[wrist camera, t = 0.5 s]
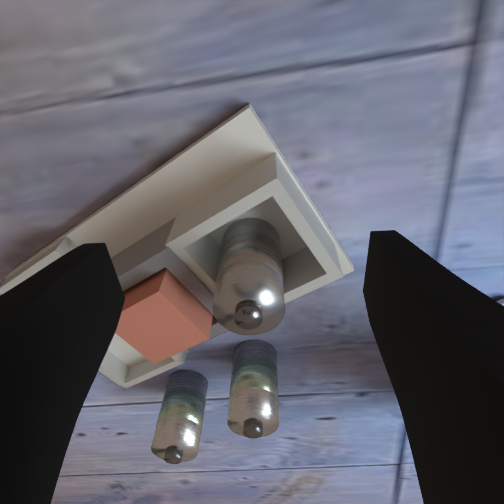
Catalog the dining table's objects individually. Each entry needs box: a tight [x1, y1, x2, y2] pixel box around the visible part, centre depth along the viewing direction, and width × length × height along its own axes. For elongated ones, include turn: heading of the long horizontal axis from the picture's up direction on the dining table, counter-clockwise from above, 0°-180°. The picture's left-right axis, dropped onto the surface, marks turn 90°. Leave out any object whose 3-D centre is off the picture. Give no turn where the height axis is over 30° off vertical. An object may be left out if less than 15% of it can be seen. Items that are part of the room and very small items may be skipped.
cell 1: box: [151, 370, 208, 464], centre depth 27 cm, size 3×3×6 cm
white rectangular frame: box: [0, 103, 354, 389], centre depth 21 cm, size 11×18×4 cm, turn 124°
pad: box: [115, 267, 213, 364], centre depth 20 cm, size 4×4×3 cm
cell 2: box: [228, 340, 279, 438], centre depth 25 cm, size 3×3×6 cm
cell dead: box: [212, 218, 285, 335], centre depth 18 cm, size 3×3×6 cm
